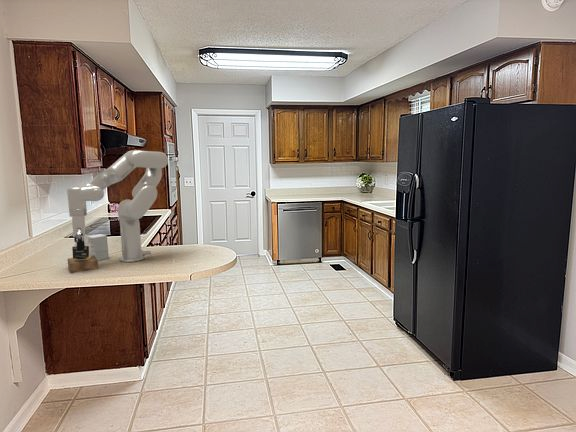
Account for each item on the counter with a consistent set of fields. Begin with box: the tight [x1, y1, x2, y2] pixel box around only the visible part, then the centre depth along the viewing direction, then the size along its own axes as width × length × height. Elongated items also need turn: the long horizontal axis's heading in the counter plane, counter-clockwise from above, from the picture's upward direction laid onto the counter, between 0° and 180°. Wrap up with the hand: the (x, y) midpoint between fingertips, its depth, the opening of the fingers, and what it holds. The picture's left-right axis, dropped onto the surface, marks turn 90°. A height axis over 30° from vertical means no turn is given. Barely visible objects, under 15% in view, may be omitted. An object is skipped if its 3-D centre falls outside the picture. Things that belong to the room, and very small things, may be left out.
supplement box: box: [88, 233, 110, 261], centre depth 214 cm, size 7×7×13 cm
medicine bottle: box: [71, 233, 91, 261], centre depth 196 cm, size 7×7×12 cm
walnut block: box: [67, 255, 99, 274], centre depth 197 cm, size 12×12×5 cm
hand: (81, 247), depth 196 cm, fingers open, 9 cm apart
